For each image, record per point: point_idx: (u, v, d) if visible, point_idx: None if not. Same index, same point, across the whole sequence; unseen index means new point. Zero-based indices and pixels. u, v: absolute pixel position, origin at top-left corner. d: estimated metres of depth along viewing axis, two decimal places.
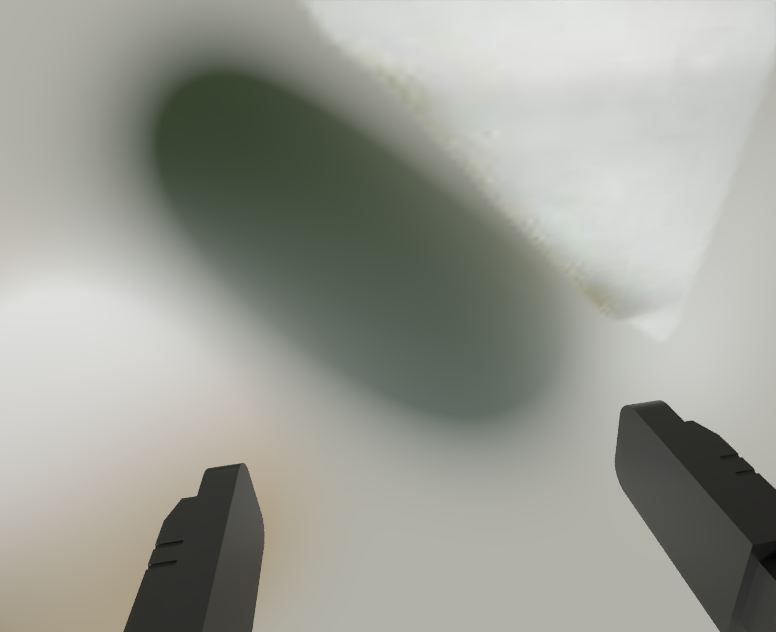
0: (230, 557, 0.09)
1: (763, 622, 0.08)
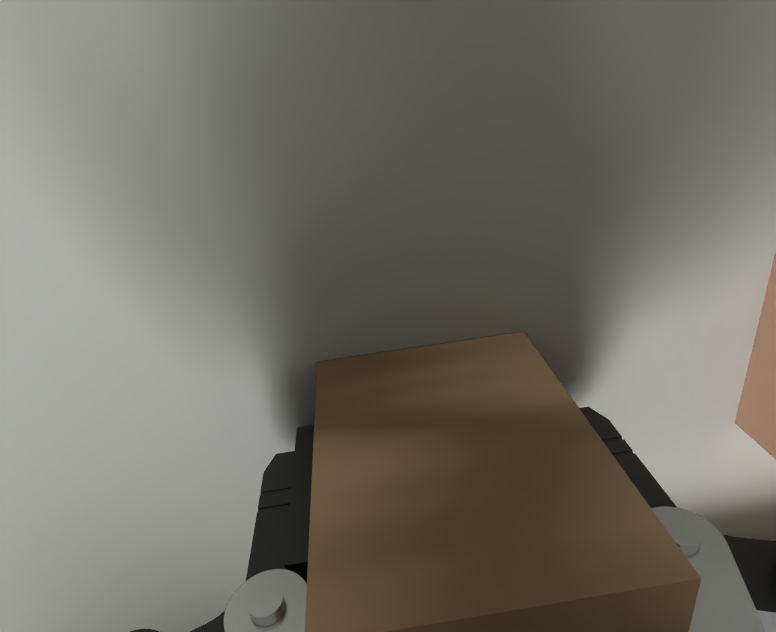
0: None
1: None
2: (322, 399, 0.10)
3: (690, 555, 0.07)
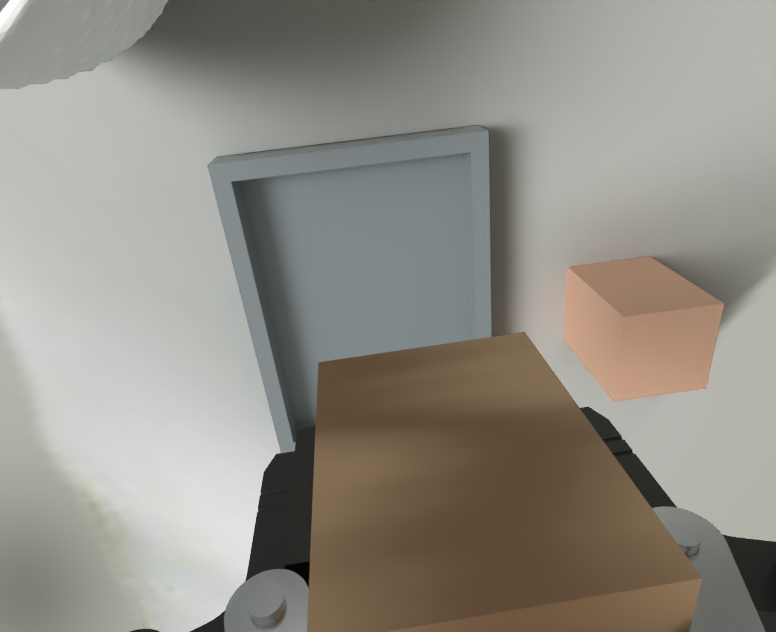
0: None
1: None
2: (323, 399, 0.10)
3: (690, 555, 0.07)
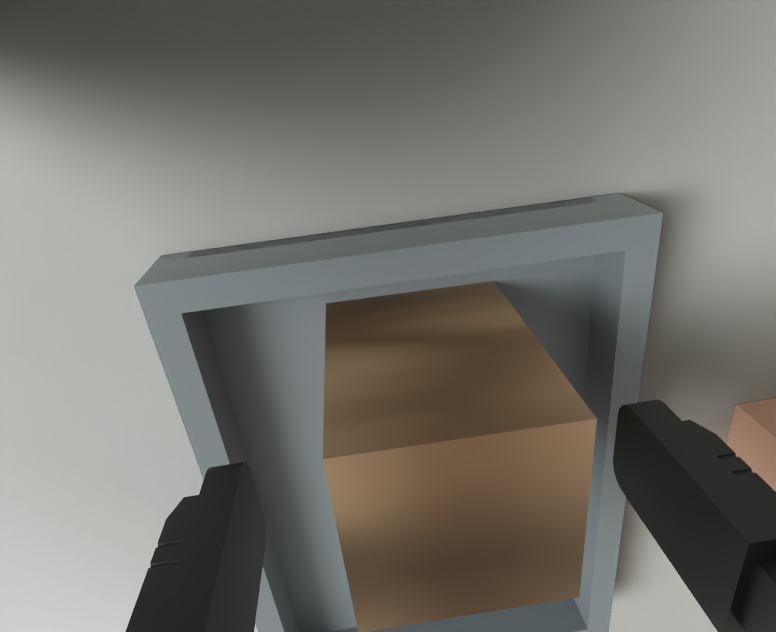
0: (232, 556, 0.09)
1: (760, 621, 0.08)
2: (331, 327, 0.12)
3: None
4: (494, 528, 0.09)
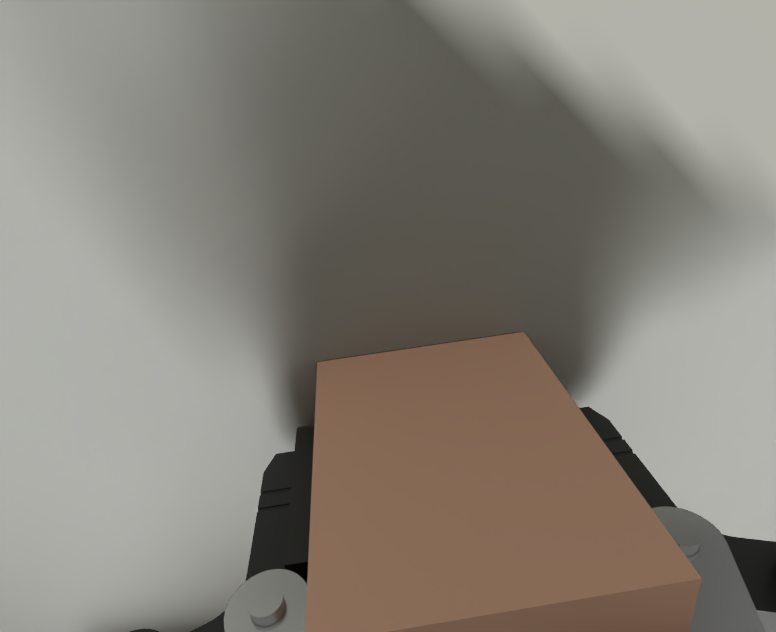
0: None
1: None
2: None
3: (690, 555, 0.07)
4: None
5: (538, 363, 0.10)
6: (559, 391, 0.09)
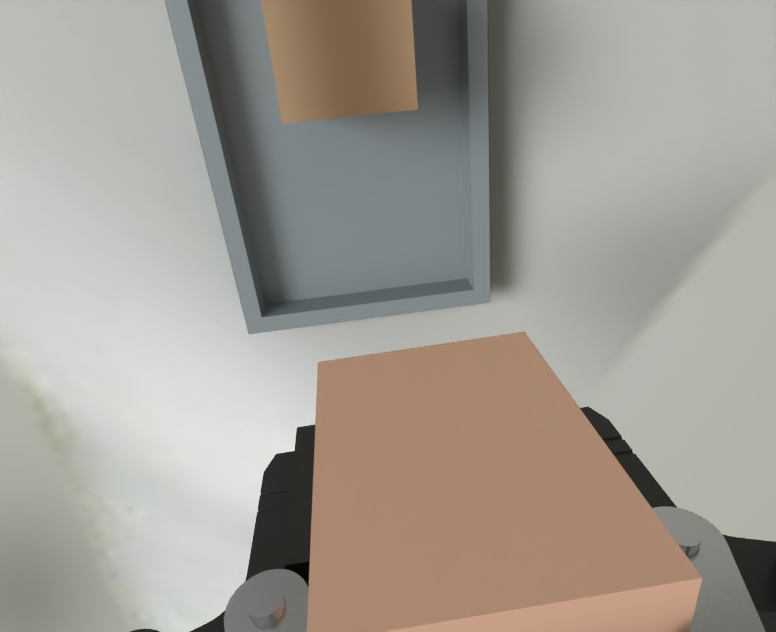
0: None
1: None
2: None
3: (690, 555, 0.07)
4: (358, 34, 0.16)
5: (539, 363, 0.10)
6: (559, 391, 0.09)
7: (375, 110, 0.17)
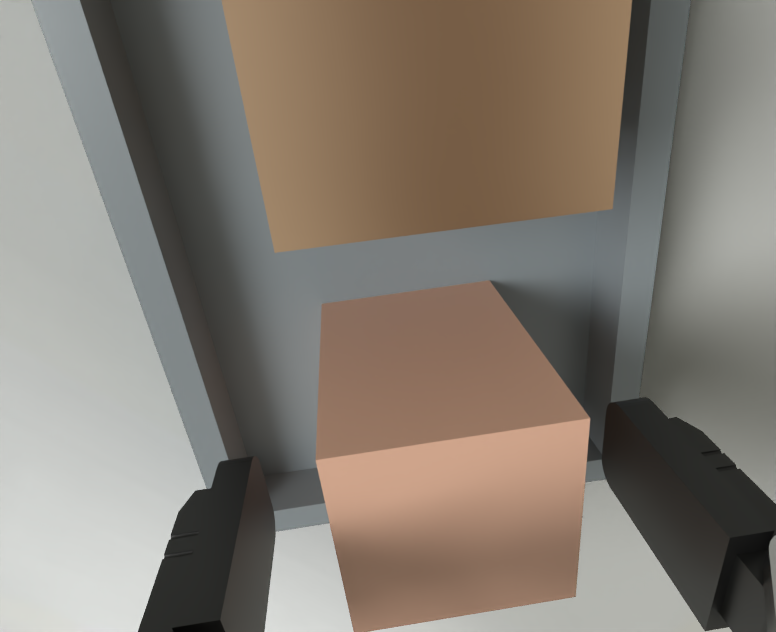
0: (244, 547, 0.09)
1: (741, 614, 0.08)
2: None
3: None
4: (481, 21, 0.06)
5: (497, 300, 0.13)
6: (510, 318, 0.12)
7: (509, 214, 0.07)
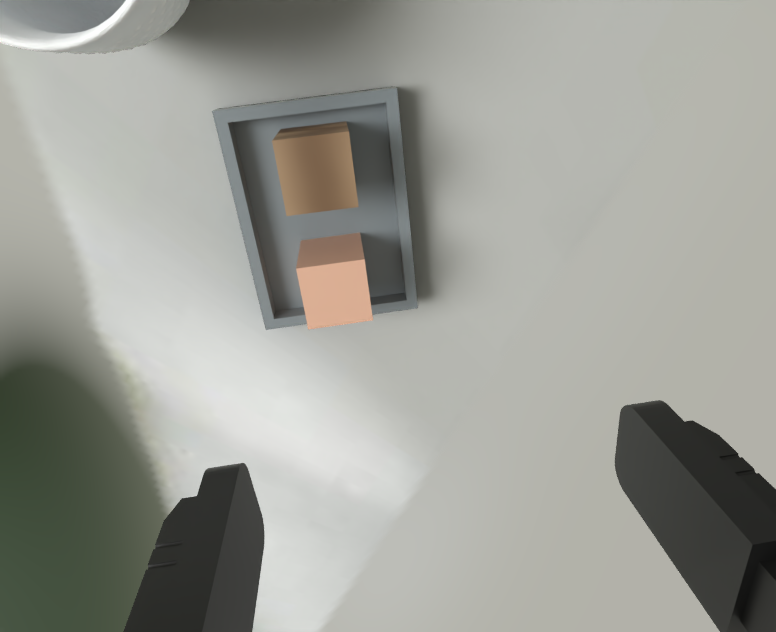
0: (230, 558, 0.09)
1: (763, 623, 0.08)
2: (281, 131, 0.34)
3: None
4: (325, 172, 0.31)
5: (358, 237, 0.38)
6: (359, 241, 0.37)
7: (335, 208, 0.32)
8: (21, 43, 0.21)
